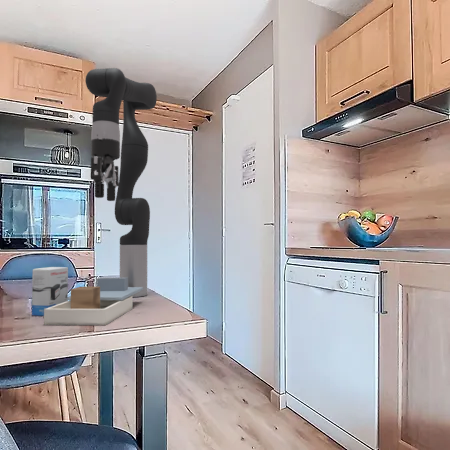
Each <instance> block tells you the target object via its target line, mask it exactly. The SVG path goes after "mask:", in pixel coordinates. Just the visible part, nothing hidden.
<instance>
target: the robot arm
mask: <svg viewBox="0 0 450 450" xmlns="http://www.w3.org/2000/svg"><path fill="white" fill-rule="evenodd" d="M84 81H85V86H86V87H87V90H88V91H89V92H90V94H92V95H93V96H96V97H99V98H104V99H101V100H99V101H96V102H94V103H93V105H92V120H91V121H92V122H91V123H92V125H91V126H92V127H91V141H90V142H91V143H90V145H91V148H90V149H91V151H90V153H91V154H90V156H91V158H90V180H92V181H93V183H94V197H95V198H98V199H102V198H104V197H105V184H106V200H107V201H108V202H115V203H114V217H115V220H116V222H117V224H119V225H122V226H131V229H130V230H129V232H127V233H126V234H124V235H121V236H120V237H119V278H128V287H143V290H141V291H139V292H137V293H135V294H133V295H131V296H133V297H132V298H136V297H137V298H138V297H139V298H140V297H144V296H148V240H149V235H150V222H151V220H150V218H151V209H150V205H149V202H148V200H147V199H146V198H143V197H133V193H134V189H135V187H136V184H137V182H138V180H139V179H140V177H141V176H142V174H143V172H144V170H145V169H146V167H147V165H148V158H149V144H148V141H147V139H146V136H145V135H144V133H143V132H142V130H141V128H140V127H139V125H138V122H137V120H136V111H140V110H141V111H143V110H145V111H147V110H153V109H155V107H156V105H157V100H158V99H157V98H158V97H157V90H156V88H155V86H154V85H153V84H152V83H149V82H139V81H135V80H132V79H129V78H127V77H126V76H125V74H124V72H123V71H122V70H121V69H120V68H117V67H109V68H106V67H104V68H92V69H91V70H89V71H88V72H87V73H86V75H85V80H84ZM122 102H123V103H122ZM122 105H123V106H122ZM121 106H122V107H123V108H122V109H123V111H122V112H123V113H122V114H123V121H122V122H123V126H122V138H121V132H120V110H121ZM118 159H120V169H119V166H118V165H115V160H116V161H117V160H118ZM104 183H105V184H104ZM116 189H117V191H116Z"/></svg>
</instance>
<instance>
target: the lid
mask: <svg viewBox="0 0 450 450" xmlns="http://www.w3.org/2000/svg"><path fill="white" fill-rule="evenodd" d="M96 287H100V300H123V299H125V298H127V297H129V296H131V295H133V294H135V293H137V292H139V291H141V290H143V287H128V278H120V277H99V278H96ZM67 300H68V301H69V300H71V295H70V296H68V297H67Z"/></svg>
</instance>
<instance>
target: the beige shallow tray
mask: <svg viewBox="0 0 450 450" xmlns="http://www.w3.org/2000/svg"><path fill="white" fill-rule="evenodd" d="M133 298H134V297H133V296H129V297H127V298H125V299H123V300H100V309H71V300H68V301H66V302H64V303H61V304H58V305H55V306H52V307H49V308H46V309H44V316H43V326H107V325H108V324H110V323H112V322H113V321H115V320H117V319H118V318H120V317H121V316H123V315H125V314H126V313H128V312H130V311H131V310H133Z"/></svg>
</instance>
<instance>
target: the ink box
mask: <svg viewBox="0 0 450 450" xmlns="http://www.w3.org/2000/svg"><path fill="white" fill-rule="evenodd" d="M31 280H32V285H31V286H32V287H31V288H32V290H31V316H39V317H40V316H41V317H42V316H43V317H44V309H46V308H49V307H52V306H55V305H58V304H61V303H64V302H66V301H69V300H67V297H69V295H68V293H69V292H68V291H69V290H68V289H69V284H68V283H69V266H67V267H66V266H65V267H64V266H49V267H40V268H33V269H32V278H31Z"/></svg>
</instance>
